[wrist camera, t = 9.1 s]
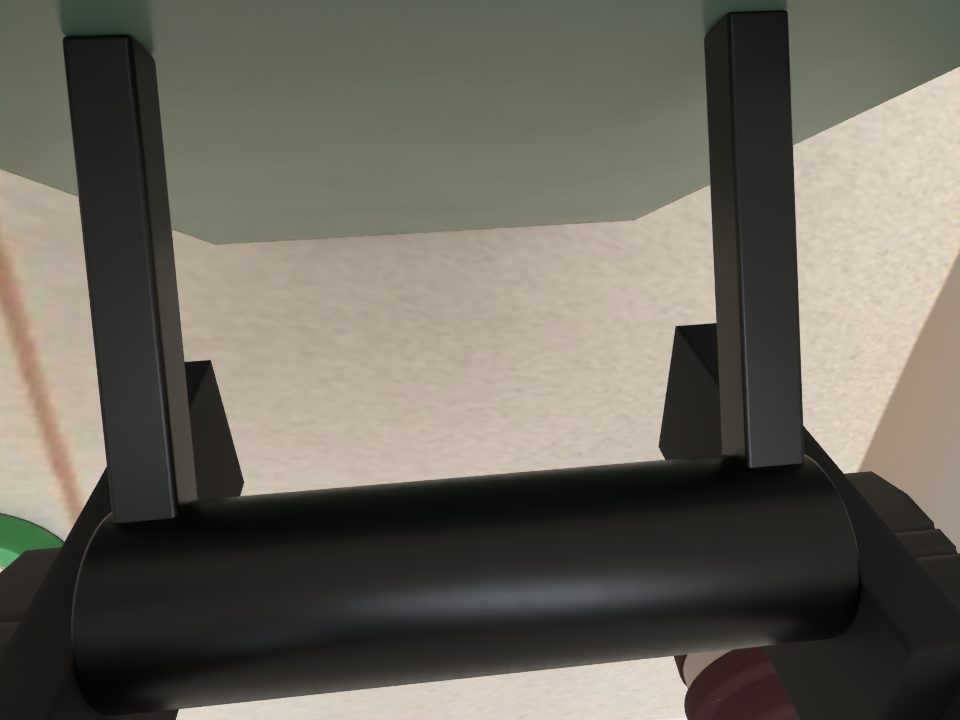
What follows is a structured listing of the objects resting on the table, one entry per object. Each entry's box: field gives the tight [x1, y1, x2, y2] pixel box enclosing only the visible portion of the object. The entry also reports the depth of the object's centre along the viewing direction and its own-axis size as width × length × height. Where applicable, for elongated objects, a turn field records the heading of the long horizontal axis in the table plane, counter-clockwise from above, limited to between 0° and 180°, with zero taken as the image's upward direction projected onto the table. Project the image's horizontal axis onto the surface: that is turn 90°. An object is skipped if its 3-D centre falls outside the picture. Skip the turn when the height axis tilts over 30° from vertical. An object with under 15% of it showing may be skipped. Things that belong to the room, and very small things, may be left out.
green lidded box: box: [0, 0, 960, 716], centre depth 15 cm, size 20×15×8 cm
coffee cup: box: [674, 646, 800, 720], centre depth 44 cm, size 10×10×15 cm
